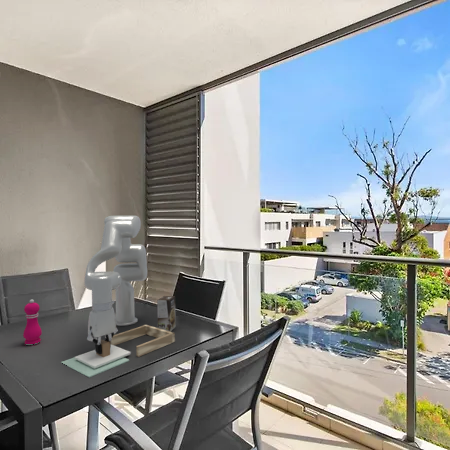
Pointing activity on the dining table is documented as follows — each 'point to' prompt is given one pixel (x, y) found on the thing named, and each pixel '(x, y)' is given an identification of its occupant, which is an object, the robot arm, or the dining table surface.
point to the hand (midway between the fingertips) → (103, 351)
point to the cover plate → (102, 360)
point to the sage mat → (89, 370)
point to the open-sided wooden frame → (160, 341)
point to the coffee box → (166, 313)
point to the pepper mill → (32, 323)
